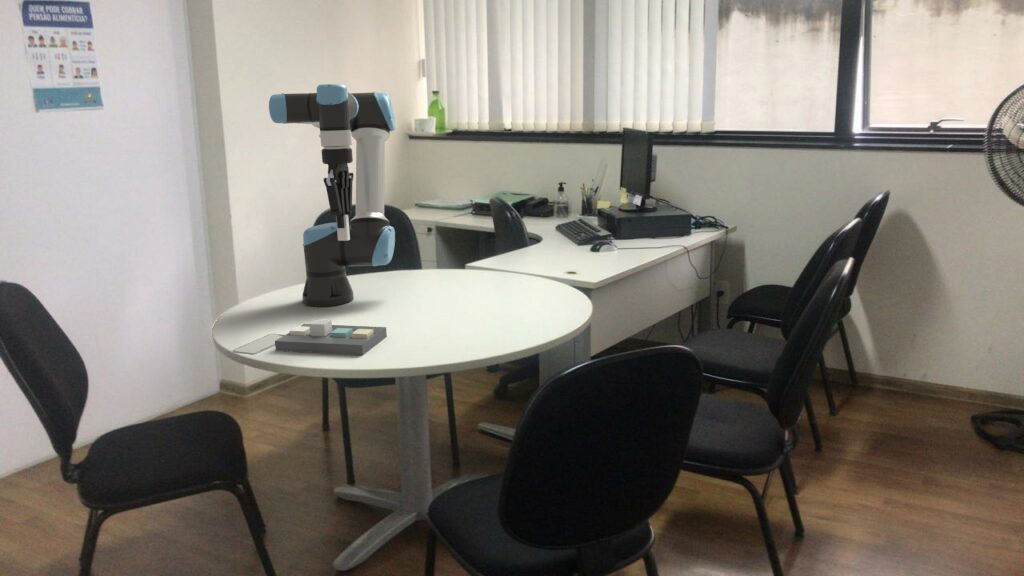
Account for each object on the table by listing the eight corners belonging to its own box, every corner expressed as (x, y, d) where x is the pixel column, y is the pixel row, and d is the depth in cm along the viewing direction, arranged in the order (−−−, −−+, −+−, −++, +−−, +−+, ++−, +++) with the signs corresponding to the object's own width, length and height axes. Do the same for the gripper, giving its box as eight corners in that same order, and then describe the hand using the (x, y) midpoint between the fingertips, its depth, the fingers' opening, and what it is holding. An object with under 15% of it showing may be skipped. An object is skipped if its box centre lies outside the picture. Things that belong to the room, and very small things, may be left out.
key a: (298, 337, 203) (297, 326, 203) (312, 338, 203) (311, 326, 202) (290, 342, 200) (289, 330, 199) (305, 343, 199) (304, 331, 198)
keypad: (304, 332, 209) (304, 323, 208) (386, 336, 204) (386, 327, 203) (275, 350, 195) (274, 341, 194) (363, 355, 190) (362, 345, 189)
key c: (338, 339, 201) (337, 327, 200) (353, 340, 200) (352, 328, 199) (331, 344, 197) (330, 332, 196) (346, 345, 196) (345, 333, 196)
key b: (317, 331, 202) (316, 319, 201) (332, 331, 201) (331, 320, 200) (310, 335, 198) (309, 323, 197) (325, 336, 197) (324, 324, 196)
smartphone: (230, 351, 195) (271, 333, 209) (230, 353, 195) (271, 335, 209) (254, 353, 192) (293, 335, 206) (254, 356, 192) (294, 338, 206)
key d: (359, 340, 200) (358, 328, 199) (374, 341, 199) (373, 329, 198) (352, 345, 196) (351, 333, 195) (367, 346, 195) (366, 334, 194)
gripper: (334, 145, 206) (341, 235, 212) (310, 149, 194) (319, 244, 200) (360, 145, 205) (367, 235, 210) (339, 149, 192) (346, 245, 198)
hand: (344, 239), depth 205 cm, fingers closed
